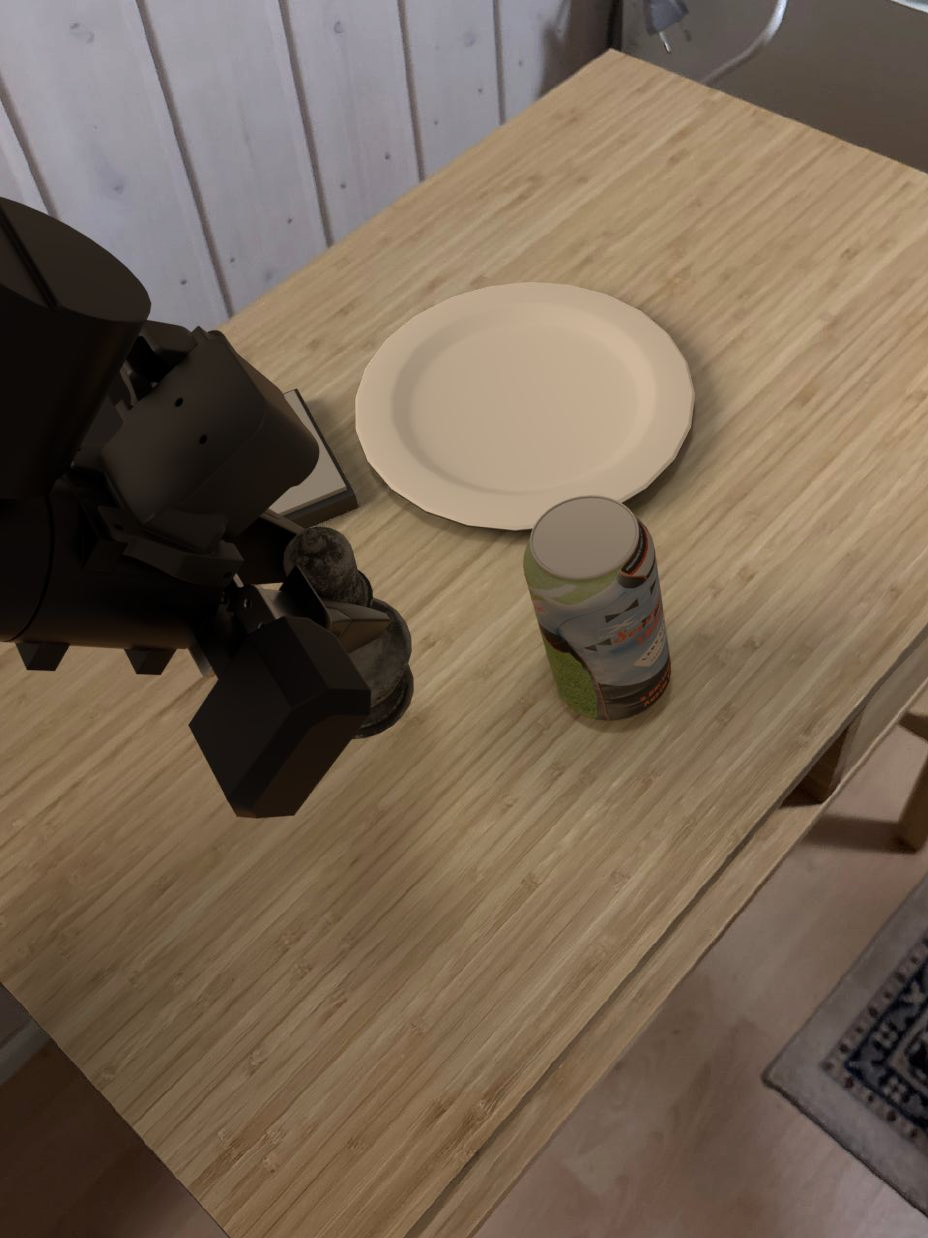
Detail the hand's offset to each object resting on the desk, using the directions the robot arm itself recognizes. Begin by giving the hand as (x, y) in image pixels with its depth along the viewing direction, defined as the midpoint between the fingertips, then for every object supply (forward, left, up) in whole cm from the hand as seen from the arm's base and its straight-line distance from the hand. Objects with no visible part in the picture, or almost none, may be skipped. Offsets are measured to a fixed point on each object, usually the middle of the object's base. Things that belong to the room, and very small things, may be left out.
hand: (362, 594), depth 48 cm
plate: (+16, +18, -13) cm, 27 cm away
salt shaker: (-1, 0, -7) cm, 7 cm away
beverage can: (+11, -1, -13) cm, 17 cm away
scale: (-2, +21, -13) cm, 25 cm away
